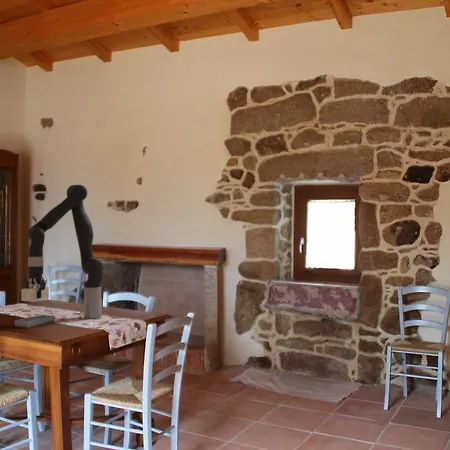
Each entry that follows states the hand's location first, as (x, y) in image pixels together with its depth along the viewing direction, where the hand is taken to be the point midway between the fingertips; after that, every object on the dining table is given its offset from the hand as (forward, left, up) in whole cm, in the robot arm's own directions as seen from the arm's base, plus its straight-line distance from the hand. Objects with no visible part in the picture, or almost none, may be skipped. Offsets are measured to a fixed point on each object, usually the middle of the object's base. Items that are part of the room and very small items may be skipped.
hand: (35, 297), depth 278 cm
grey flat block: (0, 0, -14) cm, 14 cm away
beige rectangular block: (0, 0, -1) cm, 1 cm away
